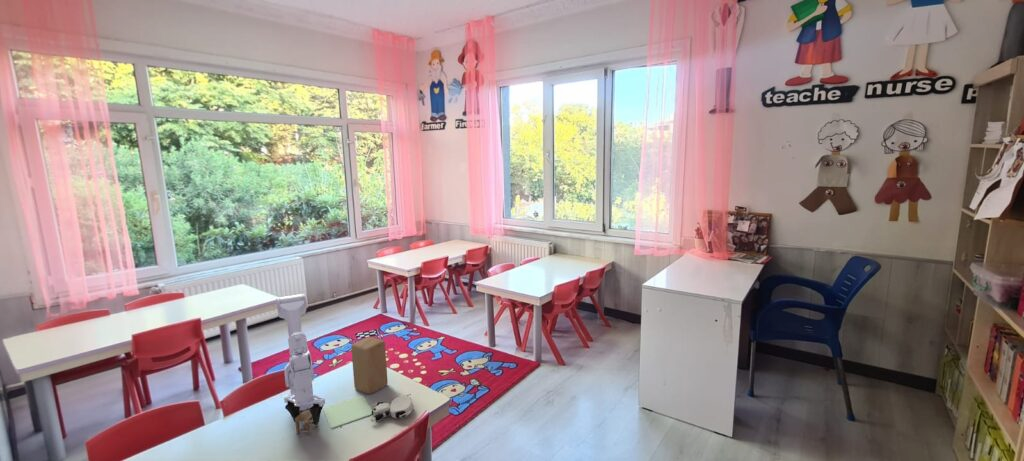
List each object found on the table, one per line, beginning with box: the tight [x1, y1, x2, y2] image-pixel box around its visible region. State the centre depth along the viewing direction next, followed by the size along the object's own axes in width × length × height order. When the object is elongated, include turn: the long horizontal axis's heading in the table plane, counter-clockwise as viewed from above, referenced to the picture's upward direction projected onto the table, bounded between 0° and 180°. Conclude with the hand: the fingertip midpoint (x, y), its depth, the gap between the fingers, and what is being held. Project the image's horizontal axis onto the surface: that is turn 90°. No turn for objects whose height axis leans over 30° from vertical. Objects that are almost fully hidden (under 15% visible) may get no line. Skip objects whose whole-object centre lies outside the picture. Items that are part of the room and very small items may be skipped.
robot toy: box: [370, 393, 414, 423], centre depth 157 cm, size 12×4×15 cm
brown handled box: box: [294, 409, 319, 437], centre depth 148 cm, size 5×5×6 cm
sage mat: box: [322, 394, 374, 430], centre depth 160 cm, size 15×15×1 cm
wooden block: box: [350, 336, 388, 395], centre depth 175 cm, size 10×10×20 cm
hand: (306, 421), depth 148 cm, fingers open, 7 cm apart
